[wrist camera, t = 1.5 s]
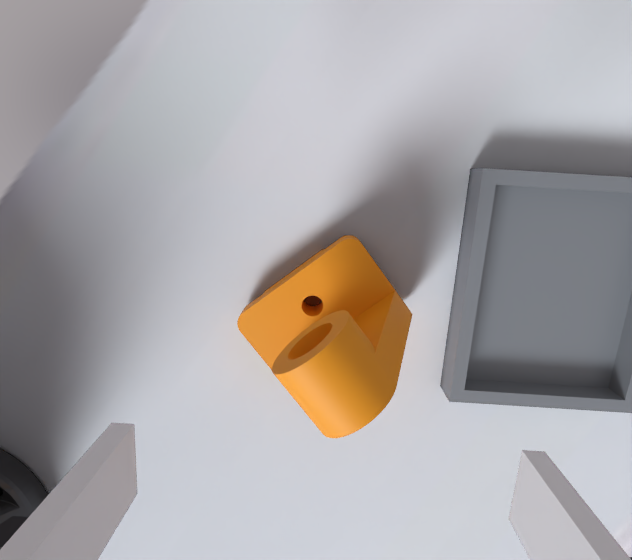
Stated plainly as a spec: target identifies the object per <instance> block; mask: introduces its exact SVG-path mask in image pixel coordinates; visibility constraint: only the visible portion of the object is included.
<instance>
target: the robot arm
mask: <svg viewBox="0 0 632 560" xmlns="http://www.w3.org/2000/svg"><path fill="white" fill-rule="evenodd" d="M136 495H137V475H136V452H135V430H134V424H124V423H111V424H110V425H109V426H108V428H107V429H106V430H105V431H104V432H103V433H102V434H101V436H100V437H99V438H98V439H97V440H96V441H95V442H94V443H93V445H92V446H91V447H90V448H89V449H88V450H87V451H86V453H85V454H84V455H83V456H82V457H81V458H80V459H79V461H78V462H77V463H76V464H75V465H74V466H73V467H72V469H71V470H70V471H69V472H68V473H67V474H66V475H65V476H64V478H63V479H62V480H61V481H60V482H59V483H58V484H57V486H56V487H55V488H54V489H53V490H52V491H51V492H50V494H49V495H47V493H46V491H45V489H44V487H43V486H42V484H41V483H40V481H39V480H38V479H37V478H36V476H35V475H34V474H33V473H32V472H31V471H30V470H29V469H28V468H27V467H26V466H25V465H24V464H22V463H21V462H20V461H19V460H17V459H16V458H15V457H13V456H11V455H10V454H8V453H7V452H5V451H3V450H1V449H0V560H98V558H99V557H100V555H101V553H102V552H103V550H104V548H105V547H106V545H107V543H108V542H109V540H110V538H111V537H112V535H113V533H114V532H115V530H116V528H117V527H118V525H119V523H120V522H121V520H122V518H123V517H124V515H125V513H126V512H127V510H128V508H129V507H130V505H131V503H132V502H133V500H134V498H135V497H136ZM509 521H510V523H511V525H512V527H513V528H514V530H515V532H516V534H517V536H518V538H519V540H520V541H521V543H522V545H523V547H524V549H525V551H526V553H527V555H528V556H529V558H530V560H632V557H629V556H628V555H627V554H626V553H625V551H624V550H623V549H622V548H621V546H620V545H619V544H618V543H617V541H616V540H615V539H614V538H613V536H612V535H611V534H610V533H609V531H608V530H607V529H606V528H605V526H604V525H603V524H602V523H601V521H600V520H599V519H598V518H597V516H596V515H595V514H594V513H593V511H592V510H591V509H590V508H589V506H588V505H587V504H586V503H585V501H584V500H583V499H582V498H581V496H580V495H579V494H578V493H577V491H576V490H575V489H574V488H573V486H572V485H571V484H570V483H569V481H568V480H567V479H566V478H565V476H564V475H563V474H562V473H561V471H560V470H559V469H558V468H557V466H556V465H555V464H554V463H553V461H552V460H551V459H550V458H549V456H548V455H547V454H546V453H545V452H542V451H527V450H522V453H521V458H520V463H519V468H518V473H517V478H516V483H515V488H514V493H513V499H512V504H511V509H510V514H509Z"/></svg>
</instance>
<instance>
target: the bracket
mask: <svg viewBox="0 0 632 560" xmlns="http://www.w3.org/2000/svg"><path fill="white" fill-rule="evenodd" d="M308 296H317V297H319V298H320V299H321V300H322V302H321V303H320V304H318V305H316V306H311V305H308V304H307V303H306V302H305V301H304V299H305V298H306V297H308ZM411 318H412V313H411V312H410V310H409V309H408V307H407V306H406V304H405V303H404V302H403V300H402V299H401V297H400V296H399V295H398V293H397V292H396V291H395V289H394V288H393V286H392V285H391V284H390V282H389V281H388V279H387V278H386V277H385V275H384V274H383V272H382V271H381V270H380V268H379V267H378V265H377V264H376V263H375V261H374V260H373V259H372V257H371V256H370V254H369V253H368V252H367V250H366V249H365V247H364V246H363V245H362V243H361V242H360V240H359V239H358V238H356V237H354V236H351V235H346V236H343V237H341V238H340V239H338V240H337V241H335V242H334V243H333V244H331V245H330V246H329V247H327V248H326V249H322V250H321V251H319V252H318V253H317V254H315V255H314V256H312V257H311V258H310V259H308V260H307V261H306V262H304V263H303V264H301V265H300V266H299V267H297V268H296V269H295V270H293V271H292V272H290V273H289V274H288V275H286V276H285V277H284V278H282V279H281V280H279V281H278V282H277V283H275V284H274V285H273V286H271V287H270V288H268V289H267V290H266V291H265V292H264V293H263V294H262V295H261V296H260V297H258V298H257V299H255V300H254V301H253V302H251V303H250V304H249V305H247V306H246V307H245V308H244V310H243V311H242V313H241V315H240V316H239V318H238V323H237V324H238V328H239V330H240V332H241V333H242V334H243V335H244V337H245V338H246V339H247V340H248V341H249V343H250V344H251V345H252V346H253V348H254V349H255V350H256V351H257V352H258V354H259V355H260V356H261V357H262V359H263V360H264V361H265V362H266V363H267V365H268V366H269V367H270V368H271V370H272V372H273V374H274V375H275V376H276V377H277V378H278V380H279V381H280V382H281V383H282V385H283V386H284V387H285V388H286V389H287V391H288V392H289V393H290V394H291V396H292V397H293V398H294V399H295V400H296V402H297V403H298V404H299V405H300V407H301V408H302V409H303V410H304V411H305V413H306V414H307V415H308V416H309V418H310V419H311V420H312V421H313V422H314V424H315V425H316V426H317V427H318V429H319V430H320V431H321V432H322V433H323V434H324V435H325V436H326V437H329V438H340V437H344V436H347V435H349V434H352V433H354V432H356V431H358V430H359V429H361V428H362V427H364V426H365V425H367V424H368V423H369V422H371V421H372V420H373V419H374V418H375V417H376V416H377V415H379V414H380V412H381V411H382V410H383V409H384V408H385V407H386V405H387V404H388V403H389V401H390V400H391V398H392V396H393V394H394V392H395V389H396V386H397V381H398V377H399V372H400V368H401V363H402V359H403V354H404V349H405V345H406V340H407V336H408V331H409V327H410V322H411Z"/></svg>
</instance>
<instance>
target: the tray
mask: <svg viewBox="0 0 632 560" xmlns="http://www.w3.org/2000/svg"><path fill="white" fill-rule="evenodd" d="M440 386H441V388H442V390H443V391H444V393H445V395H446V397H447V398H448V400H449V402H465V403H481V404H497V405H513V406H529V407H545V408H561V409H577V410H593V411H609V412H625V413H632V177H620V176H604V175H587V174H571V173H555V172H538V171H522V170H506V169H489V168H478V169H470V176H469V183H468V191H467V198H466V205H465V212H464V219H463V226H462V234H461V241H460V248H459V255H458V262H457V270H456V277H455V284H454V291H453V298H452V306H451V313H450V320H449V327H448V334H447V341H446V349H445V356H444V363H443V370H442V377H441V385H440Z"/></svg>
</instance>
